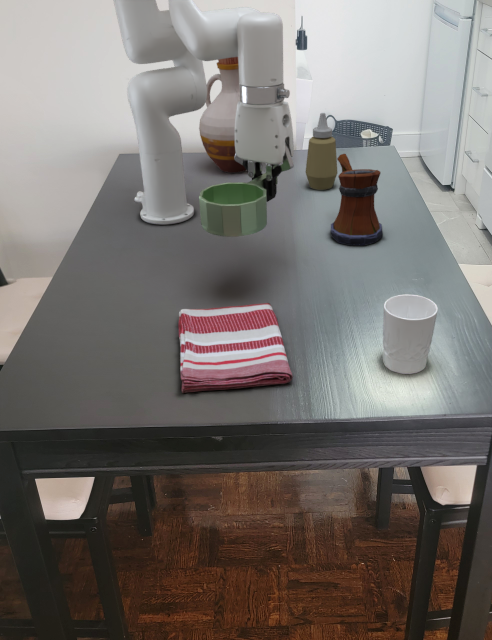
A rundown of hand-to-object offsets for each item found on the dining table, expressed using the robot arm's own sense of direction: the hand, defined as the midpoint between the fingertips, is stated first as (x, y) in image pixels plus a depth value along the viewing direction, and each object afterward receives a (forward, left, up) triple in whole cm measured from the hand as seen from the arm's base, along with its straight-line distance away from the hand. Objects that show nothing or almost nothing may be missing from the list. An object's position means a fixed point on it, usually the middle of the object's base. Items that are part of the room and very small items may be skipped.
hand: (264, 197), depth 129 cm
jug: (-42, +51, -15) cm, 67 cm away
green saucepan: (0, -6, -2) cm, 6 cm away
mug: (+6, +26, -15) cm, 31 cm away
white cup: (+36, -18, -15) cm, 43 cm away
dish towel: (+10, -28, -15) cm, 33 cm away
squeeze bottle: (-13, +48, -15) cm, 52 cm away
